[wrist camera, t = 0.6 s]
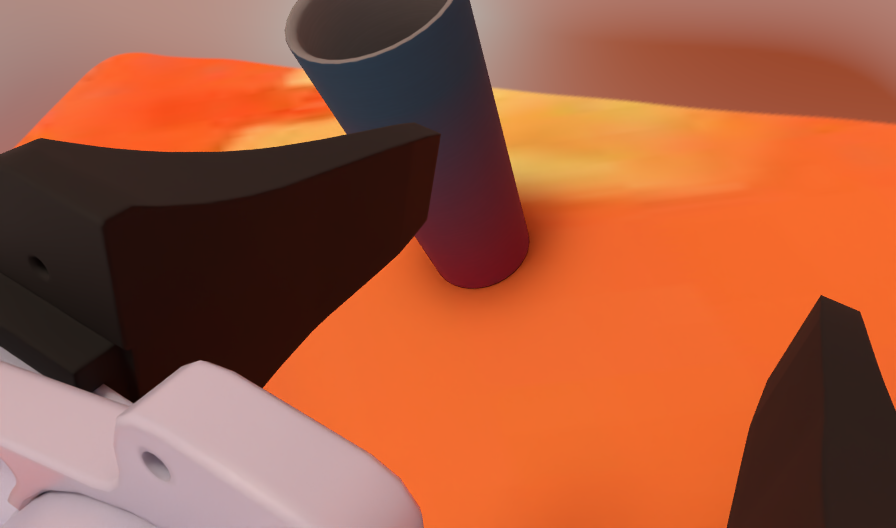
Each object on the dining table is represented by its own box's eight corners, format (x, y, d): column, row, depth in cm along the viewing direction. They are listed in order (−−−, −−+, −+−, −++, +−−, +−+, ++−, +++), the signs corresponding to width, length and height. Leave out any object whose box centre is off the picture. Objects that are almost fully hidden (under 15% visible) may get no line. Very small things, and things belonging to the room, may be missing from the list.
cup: (533, 182, 39) (450, -80, 28) (559, 282, 35) (474, 21, 24) (413, 218, 40) (286, -20, 29) (424, 319, 36) (281, 87, 25)
